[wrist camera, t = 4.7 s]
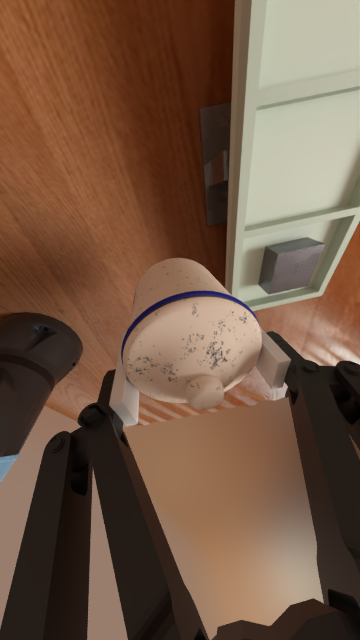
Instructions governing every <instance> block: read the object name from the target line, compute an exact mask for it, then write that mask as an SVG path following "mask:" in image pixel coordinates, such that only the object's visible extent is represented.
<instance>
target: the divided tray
mask: <svg viewBox="0 0 360 640" xmlns="http://www.w3.org/2000/svg"><path fill="white" fill-rule="evenodd" d="M359 221H360V0H235V13H234V43H233V72H232V101H231V130H230V159H229V188H228V217H227V246H226V275H225V289H226V290H227V291H228V292H229V293H230V294H231V295H232V296H233V297H235V298H237V299H239V300H240V301H242V302H243V303H244V304H246V305H247V306H248V307H249V308H250V309H251V310H252V311H255V310H260V309H264V308H268V307H273V306H277V305H282V304H286V303H291V302H295V301H300V300H304V299H309V298H313V297H318V296H322V294H323V292H324V290H325V288H326V286H327V284H328V282H329V280H330V278H331V276H332V274H333V272H334V270H335V268H336V266H337V265H338V263H339V261H340V259H341V257H342V255H343V253H344V251H345V249H346V247H347V245H348V243H349V241H350V239H351V237H352V235H353V233H354V231H355V229H356V227H357V225H358V223H359ZM306 237H309V238H311V239H314V240H316V241H319V242H322V243H324V244H325V246H324V248H323V251H322V253H321V256H320V258H319V260H318V263H317V265H316V268H315V270H314V272H313V275H312V277H311V280H310V282H309V284H308V286H306V287H301V288H297V289H292V290H288V291H283V292H279V293H274V294H270V295H268V294H267V293H266V292H265V291H264V290H263V289H262V288H261V287H260V286H259V285H258V283H259V277H260V272H261V266H262V261H263V256H264V250H265V246H269V245H274V244H278V243H283V242H288V241H292V240H297V239H301V238H306Z"/></svg>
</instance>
